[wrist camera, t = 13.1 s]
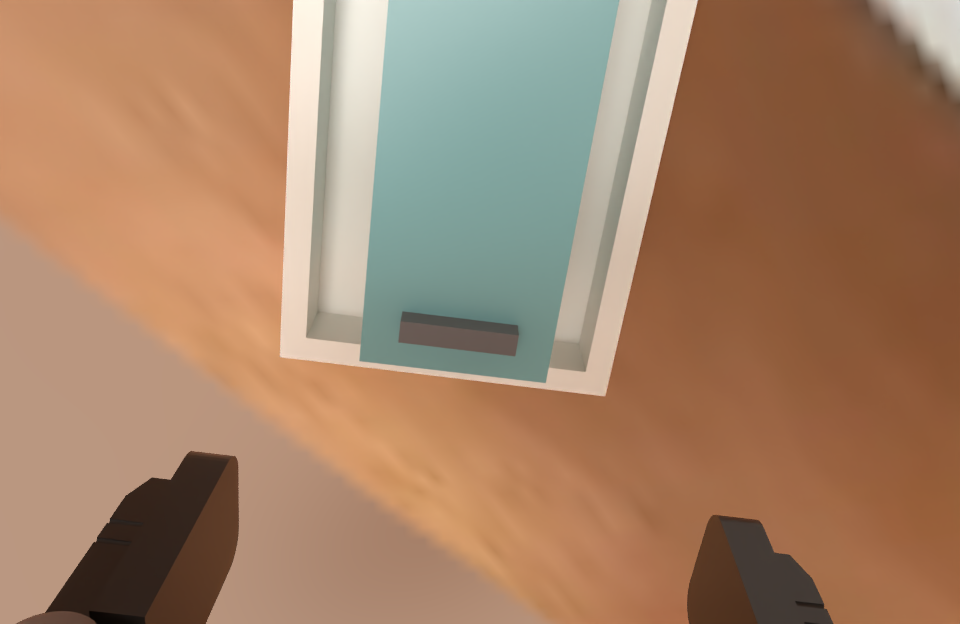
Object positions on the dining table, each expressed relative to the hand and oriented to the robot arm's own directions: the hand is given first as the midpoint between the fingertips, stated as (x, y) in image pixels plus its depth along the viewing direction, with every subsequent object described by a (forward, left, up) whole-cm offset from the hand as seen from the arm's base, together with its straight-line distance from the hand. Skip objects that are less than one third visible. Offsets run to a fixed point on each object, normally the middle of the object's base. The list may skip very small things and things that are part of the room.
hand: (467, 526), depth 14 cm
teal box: (0, -5, -14) cm, 15 cm away
